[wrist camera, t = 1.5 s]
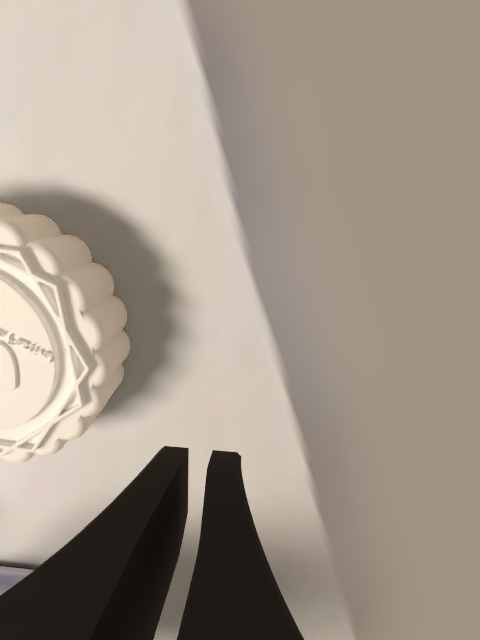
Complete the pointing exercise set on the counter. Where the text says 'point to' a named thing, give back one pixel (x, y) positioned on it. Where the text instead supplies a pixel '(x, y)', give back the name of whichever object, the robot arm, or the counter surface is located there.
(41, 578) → the robot arm
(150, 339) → the counter surface
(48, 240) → the mooncake
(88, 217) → the counter surface
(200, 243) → the counter surface
